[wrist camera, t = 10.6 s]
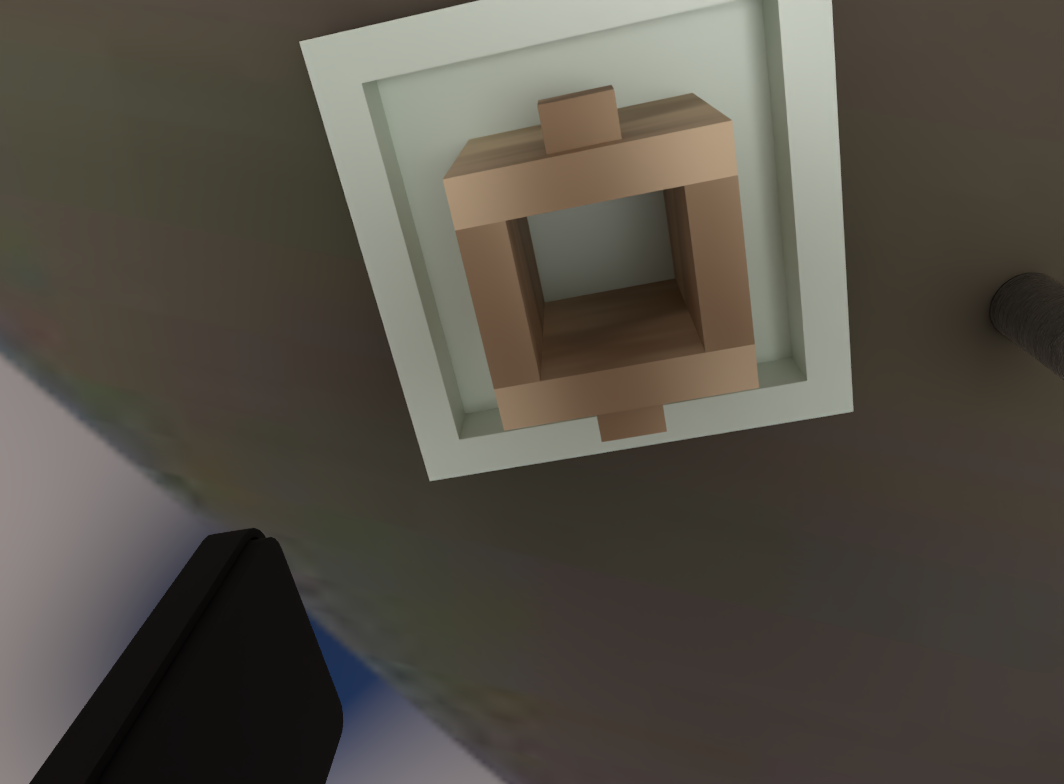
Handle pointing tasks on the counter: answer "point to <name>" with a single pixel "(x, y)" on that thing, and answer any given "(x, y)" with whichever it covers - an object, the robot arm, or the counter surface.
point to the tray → (600, 228)
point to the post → (1033, 317)
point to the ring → (616, 315)
